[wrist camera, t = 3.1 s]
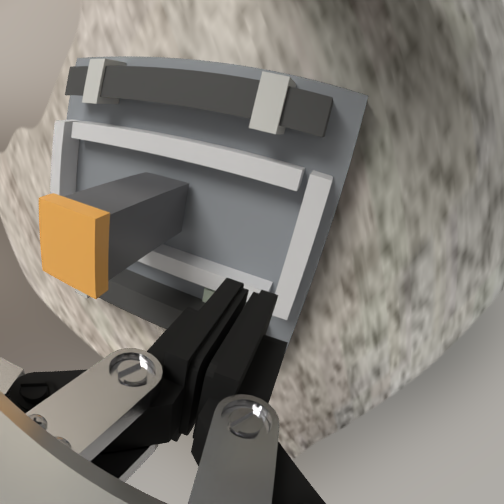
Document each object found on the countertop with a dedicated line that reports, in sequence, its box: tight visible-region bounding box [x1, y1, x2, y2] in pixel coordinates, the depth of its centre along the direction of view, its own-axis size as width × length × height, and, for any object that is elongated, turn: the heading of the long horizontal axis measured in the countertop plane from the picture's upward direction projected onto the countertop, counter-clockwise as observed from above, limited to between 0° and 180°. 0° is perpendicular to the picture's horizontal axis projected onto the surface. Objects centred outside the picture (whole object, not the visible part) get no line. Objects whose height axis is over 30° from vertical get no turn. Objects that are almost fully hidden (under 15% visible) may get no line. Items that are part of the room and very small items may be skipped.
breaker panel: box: [50, 57, 368, 349], centre depth 17 cm, size 16×18×3 cm
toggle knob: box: [39, 172, 189, 299], centre depth 14 cm, size 3×3×8 cm
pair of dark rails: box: [65, 59, 334, 329], centre depth 17 cm, size 15×15×2 cm
